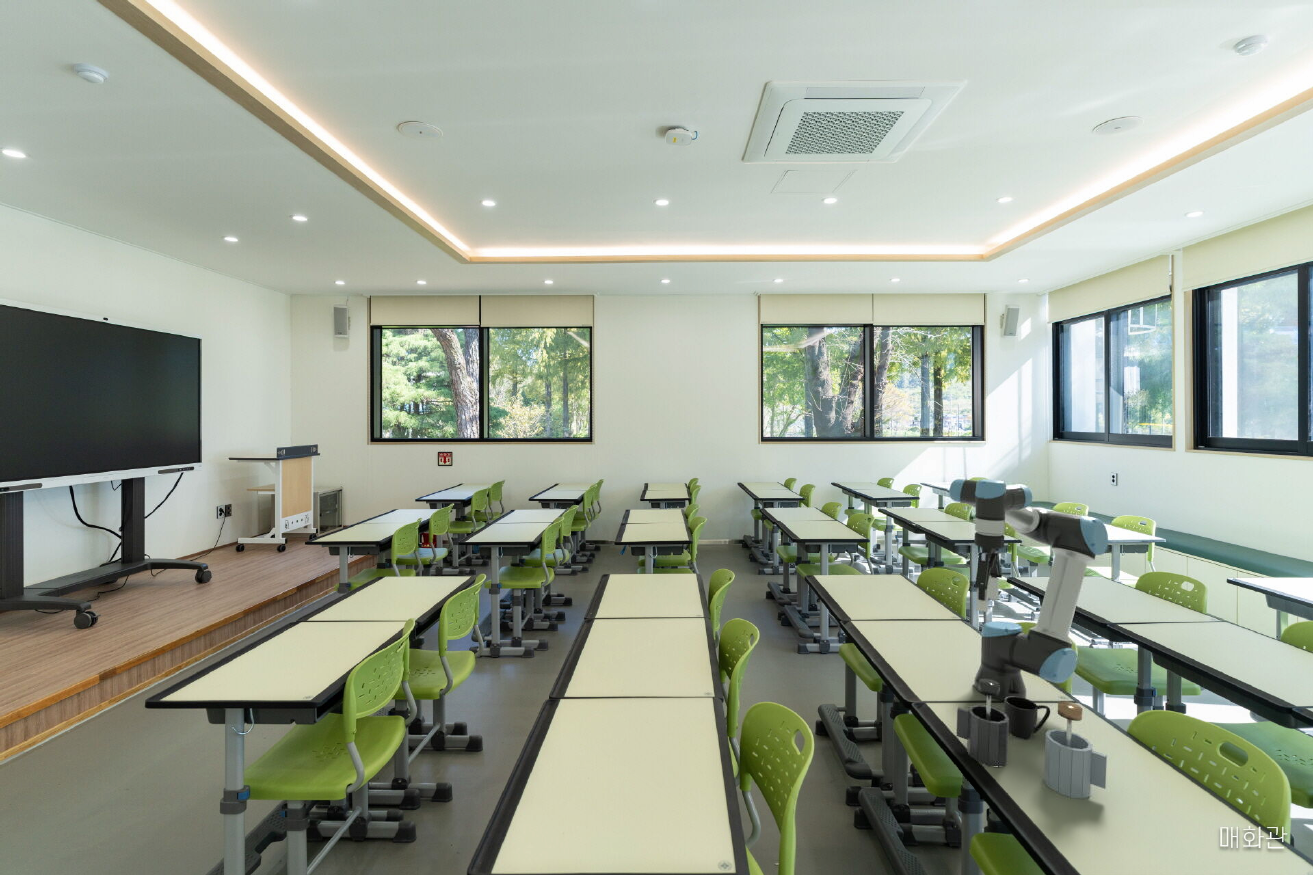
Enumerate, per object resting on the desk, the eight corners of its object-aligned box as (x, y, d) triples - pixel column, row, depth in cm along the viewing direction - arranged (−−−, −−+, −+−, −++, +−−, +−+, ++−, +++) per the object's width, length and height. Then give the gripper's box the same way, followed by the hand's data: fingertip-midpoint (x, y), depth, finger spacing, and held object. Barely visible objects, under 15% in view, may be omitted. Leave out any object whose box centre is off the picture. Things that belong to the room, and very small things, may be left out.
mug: (1056, 744, 162) (1057, 712, 162) (1011, 740, 164) (1012, 708, 163) (1041, 728, 170) (1042, 697, 170) (998, 725, 172) (999, 694, 172)
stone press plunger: (1054, 762, 149) (1056, 697, 148) (1084, 773, 144) (1087, 705, 144) (1050, 774, 144) (1052, 706, 143) (1081, 785, 140) (1084, 715, 139)
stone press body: (1047, 769, 151) (1049, 725, 150) (1106, 790, 143) (1108, 743, 142) (1041, 786, 144) (1043, 740, 143) (1103, 809, 136) (1105, 760, 135)
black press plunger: (977, 736, 161) (979, 675, 160) (1003, 745, 156) (1005, 682, 156) (971, 745, 156) (973, 683, 155) (997, 755, 152) (1000, 690, 151)
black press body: (961, 738, 165) (962, 697, 164) (1010, 755, 157) (1011, 713, 156) (951, 752, 158) (953, 710, 158) (1002, 771, 150) (1004, 727, 149)
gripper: (985, 524, 177) (983, 591, 178) (963, 538, 159) (962, 612, 160) (1012, 527, 172) (1011, 596, 173) (994, 542, 154) (992, 619, 155)
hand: (987, 604), depth 167 cm, fingers open, 13 cm apart
